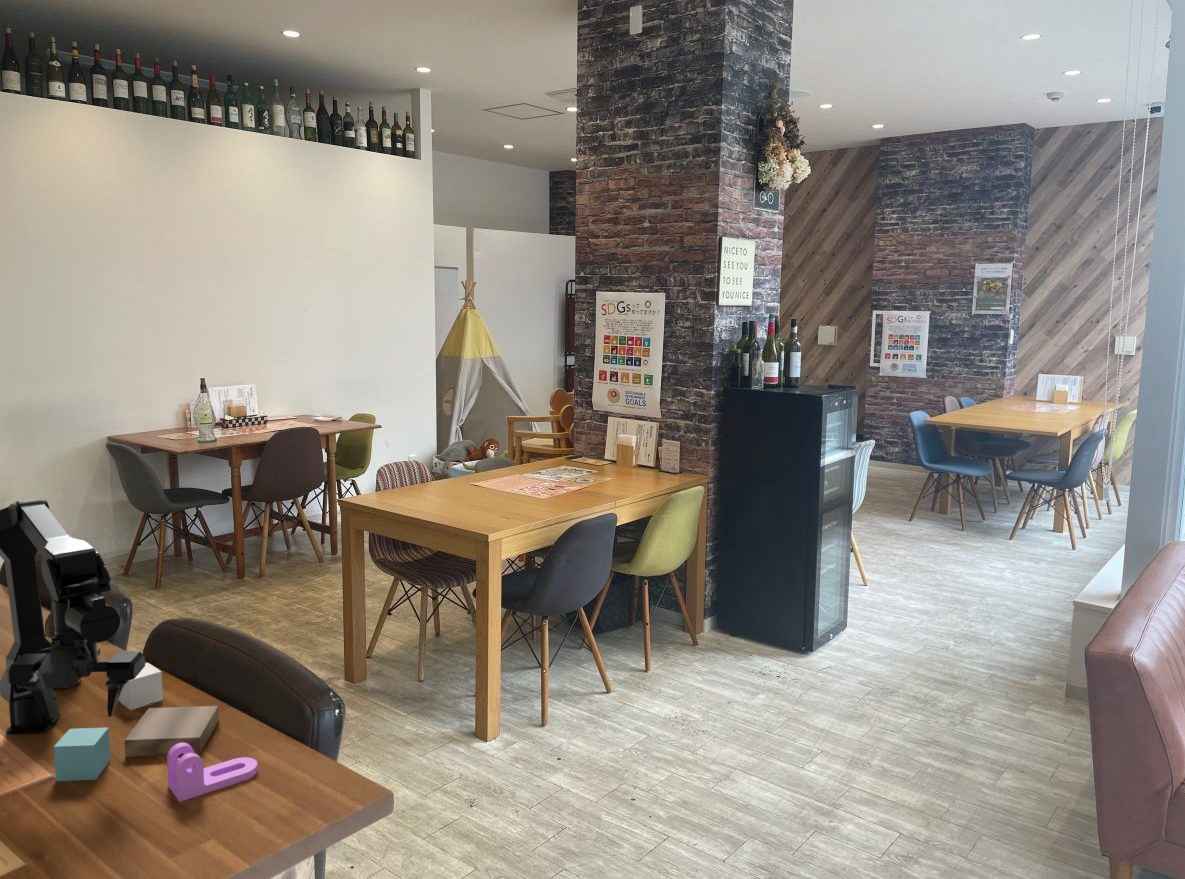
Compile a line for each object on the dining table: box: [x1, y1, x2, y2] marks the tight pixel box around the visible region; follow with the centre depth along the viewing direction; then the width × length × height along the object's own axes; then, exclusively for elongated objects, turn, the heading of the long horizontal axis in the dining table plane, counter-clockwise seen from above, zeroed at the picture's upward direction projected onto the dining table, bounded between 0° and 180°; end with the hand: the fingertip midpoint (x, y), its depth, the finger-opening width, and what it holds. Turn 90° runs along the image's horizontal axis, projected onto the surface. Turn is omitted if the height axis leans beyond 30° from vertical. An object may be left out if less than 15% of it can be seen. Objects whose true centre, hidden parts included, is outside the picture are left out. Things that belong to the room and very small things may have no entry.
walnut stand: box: [124, 705, 220, 758], centre depth 156 cm, size 12×12×3 cm
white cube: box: [118, 662, 164, 711], centre depth 170 cm, size 6×6×6 cm
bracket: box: [166, 743, 258, 803], centre depth 143 cm, size 13×6×7 cm, turn 132°
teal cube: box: [53, 727, 111, 782], centre depth 145 cm, size 6×6×6 cm
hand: (80, 716), depth 144 cm, fingers open, 9 cm apart
